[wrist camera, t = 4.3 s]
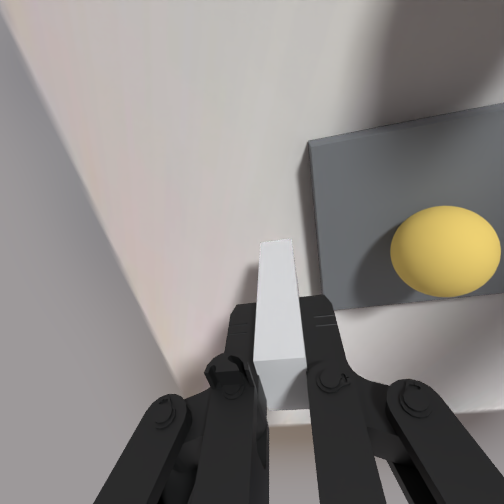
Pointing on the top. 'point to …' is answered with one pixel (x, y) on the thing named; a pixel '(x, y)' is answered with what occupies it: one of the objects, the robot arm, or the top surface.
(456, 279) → the ball
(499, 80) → the top surface
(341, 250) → the grey flat slab
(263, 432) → the robot arm
